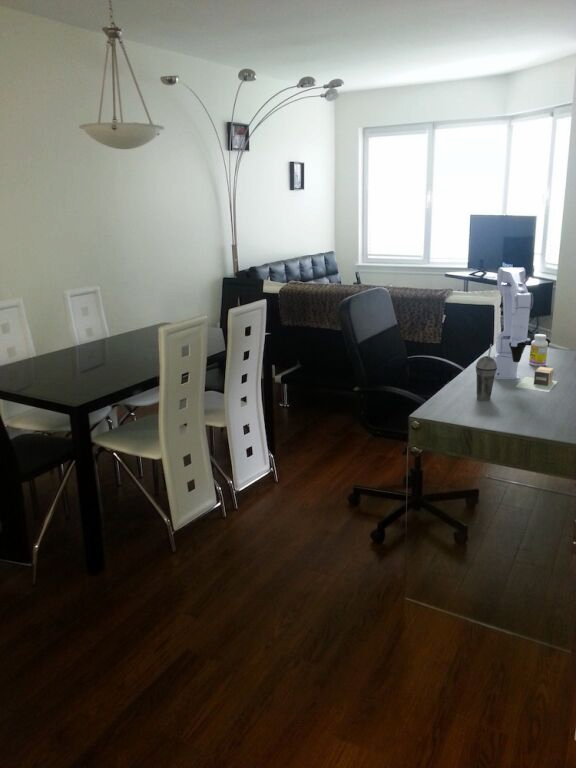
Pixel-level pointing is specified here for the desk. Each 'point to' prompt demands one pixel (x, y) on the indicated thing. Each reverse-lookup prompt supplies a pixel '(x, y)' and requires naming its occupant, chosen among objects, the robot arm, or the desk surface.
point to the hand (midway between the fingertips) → (516, 361)
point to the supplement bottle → (538, 350)
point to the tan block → (543, 376)
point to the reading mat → (535, 385)
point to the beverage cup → (485, 376)
